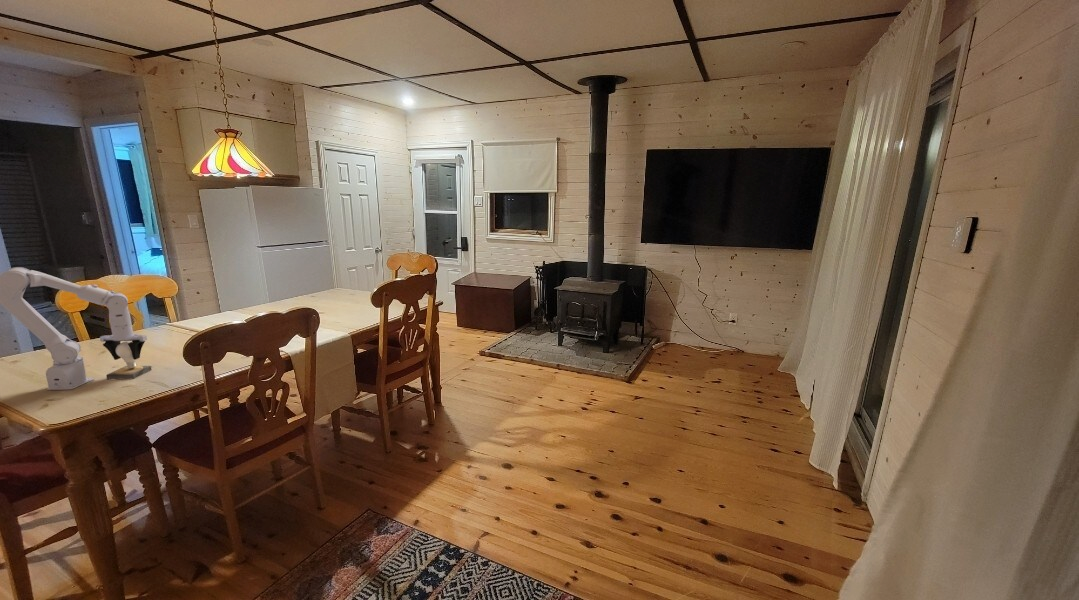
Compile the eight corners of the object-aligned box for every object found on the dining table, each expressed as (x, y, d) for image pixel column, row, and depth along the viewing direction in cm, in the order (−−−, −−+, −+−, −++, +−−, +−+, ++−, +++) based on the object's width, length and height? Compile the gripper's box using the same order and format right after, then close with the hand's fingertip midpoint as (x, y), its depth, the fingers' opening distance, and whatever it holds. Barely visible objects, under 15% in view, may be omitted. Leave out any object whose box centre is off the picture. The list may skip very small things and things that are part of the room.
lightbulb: (142, 364, 170) (134, 338, 168) (144, 367, 166) (137, 341, 163) (120, 369, 166) (112, 342, 163) (122, 373, 161) (114, 346, 159)
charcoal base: (133, 378, 162) (132, 373, 161) (107, 379, 160) (106, 374, 160) (151, 370, 170) (150, 365, 170) (126, 370, 169) (125, 365, 169)
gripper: (150, 322, 166) (155, 355, 169) (108, 322, 164) (114, 355, 167) (136, 327, 159) (142, 361, 162) (92, 327, 157) (99, 361, 160)
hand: (127, 358), depth 164 cm, fingers closed on lightbulb, 6 cm apart
